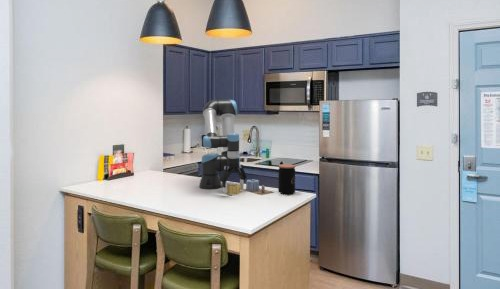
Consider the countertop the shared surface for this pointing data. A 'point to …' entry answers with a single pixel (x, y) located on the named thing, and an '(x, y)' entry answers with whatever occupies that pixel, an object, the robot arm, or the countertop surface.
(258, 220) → the countertop surface
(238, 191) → the gear
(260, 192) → the gear board
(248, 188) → the gear
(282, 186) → the coffee jar
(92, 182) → the countertop surface
